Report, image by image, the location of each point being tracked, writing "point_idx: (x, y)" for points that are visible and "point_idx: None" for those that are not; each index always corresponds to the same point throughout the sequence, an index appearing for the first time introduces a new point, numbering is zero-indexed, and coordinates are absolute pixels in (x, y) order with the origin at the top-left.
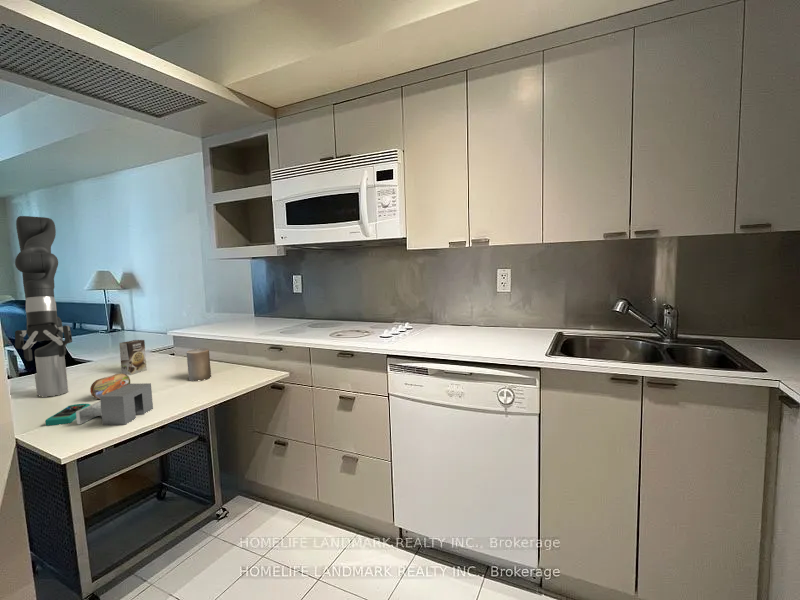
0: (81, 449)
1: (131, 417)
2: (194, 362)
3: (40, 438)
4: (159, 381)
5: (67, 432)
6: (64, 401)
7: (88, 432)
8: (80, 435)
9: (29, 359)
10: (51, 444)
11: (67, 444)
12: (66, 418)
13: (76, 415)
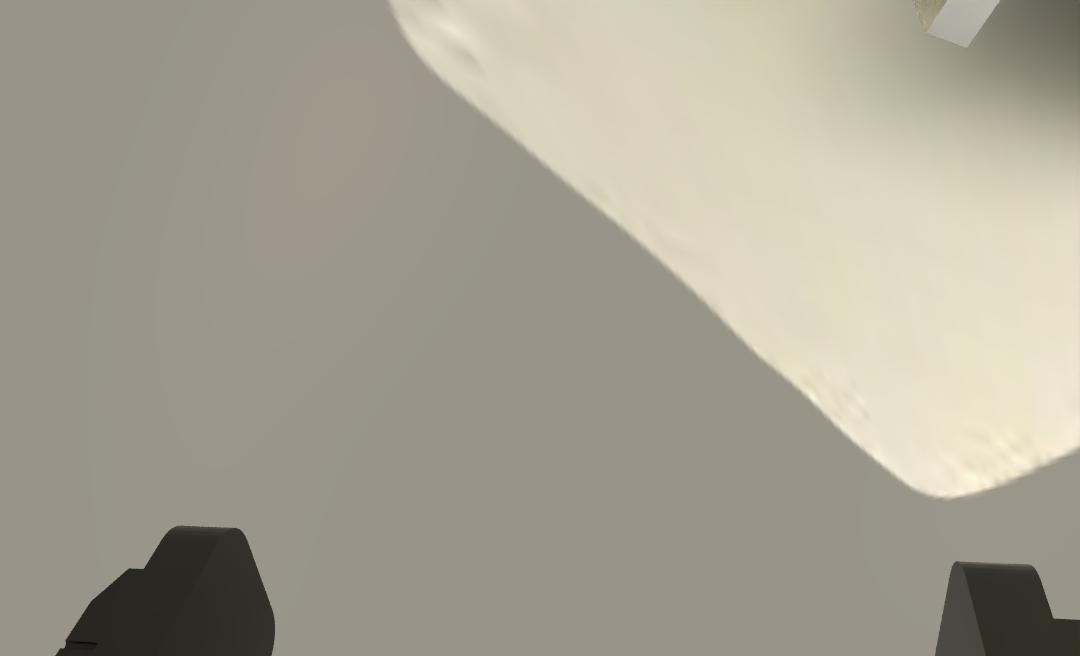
0: (1023, 453)
1: None
2: None
3: (665, 185)
4: None
5: (851, 132)
6: None
7: (1036, 199)
8: (979, 238)
9: (262, 647)
10: (803, 323)
11: (917, 360)
12: None
13: (920, 11)
